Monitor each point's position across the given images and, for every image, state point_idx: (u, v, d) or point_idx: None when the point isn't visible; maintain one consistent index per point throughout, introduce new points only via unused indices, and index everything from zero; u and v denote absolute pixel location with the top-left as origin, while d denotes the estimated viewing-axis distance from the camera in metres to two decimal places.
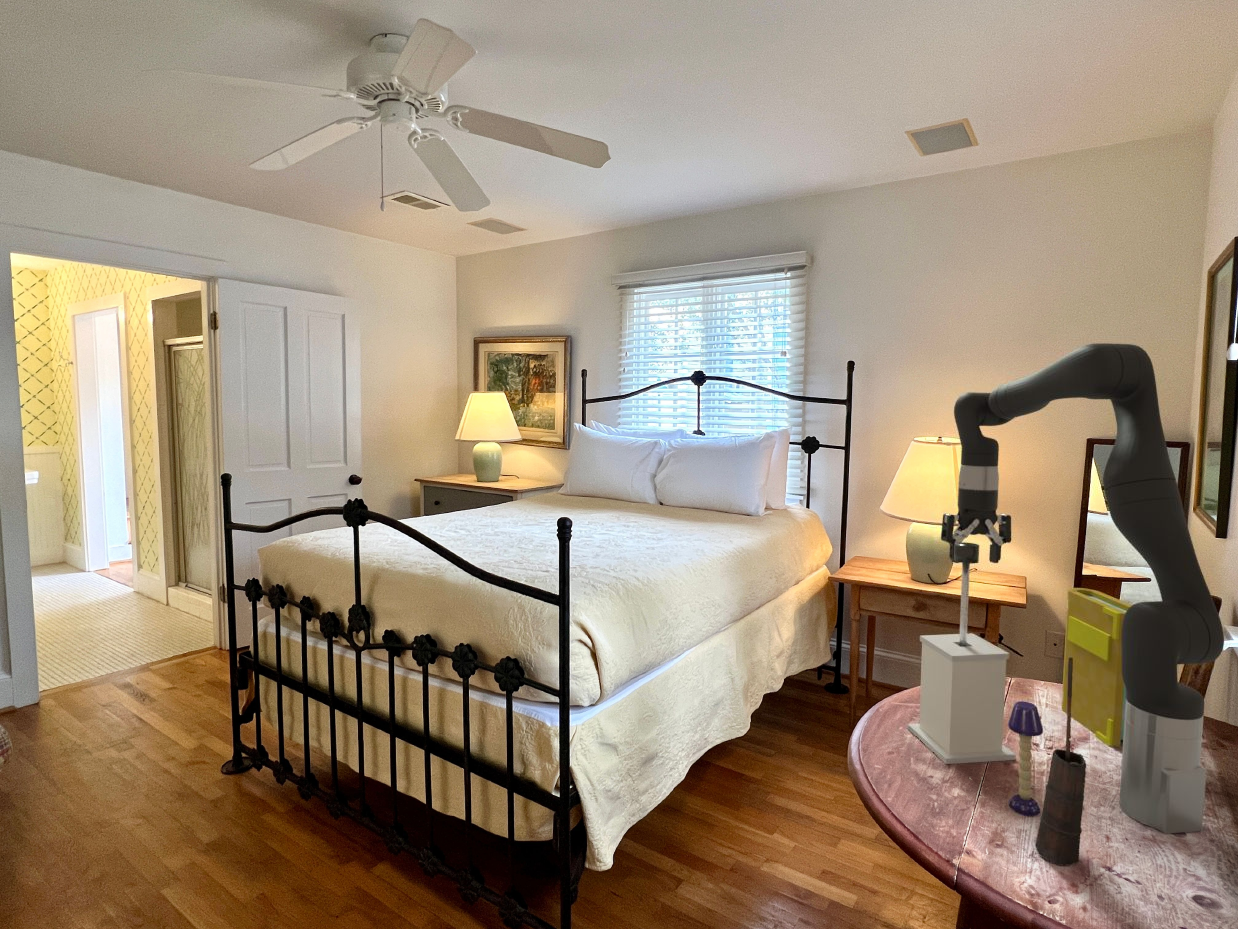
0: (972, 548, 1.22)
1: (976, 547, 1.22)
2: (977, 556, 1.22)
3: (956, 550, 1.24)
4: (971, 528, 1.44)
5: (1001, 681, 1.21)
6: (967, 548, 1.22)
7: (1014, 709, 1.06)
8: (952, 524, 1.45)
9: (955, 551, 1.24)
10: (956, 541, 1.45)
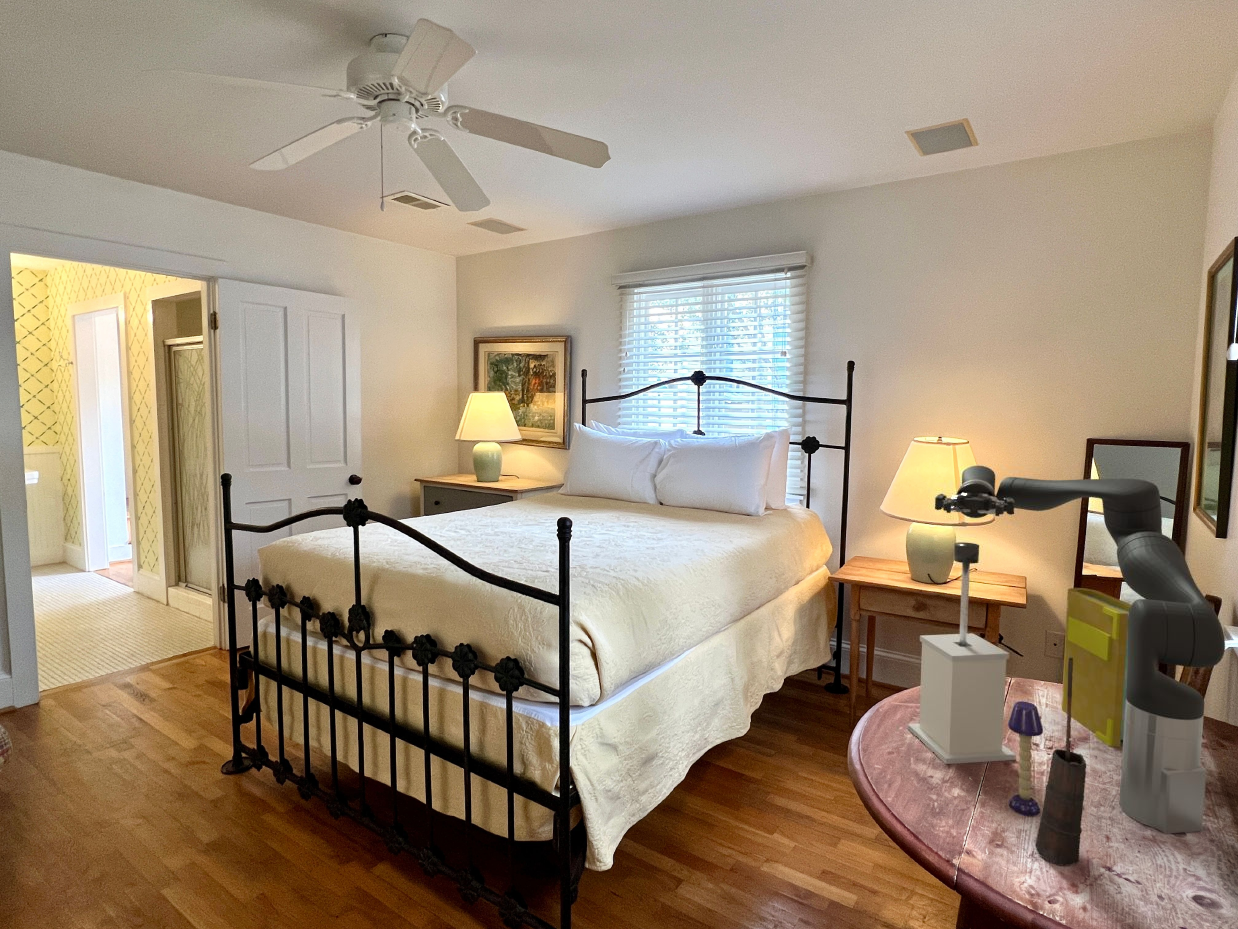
0: (972, 548, 1.22)
1: (976, 547, 1.22)
2: (977, 556, 1.22)
3: (956, 550, 1.24)
4: (962, 495, 1.42)
5: (1001, 681, 1.21)
6: (967, 548, 1.22)
7: (1014, 709, 1.06)
8: (942, 495, 1.44)
9: (955, 551, 1.24)
10: None
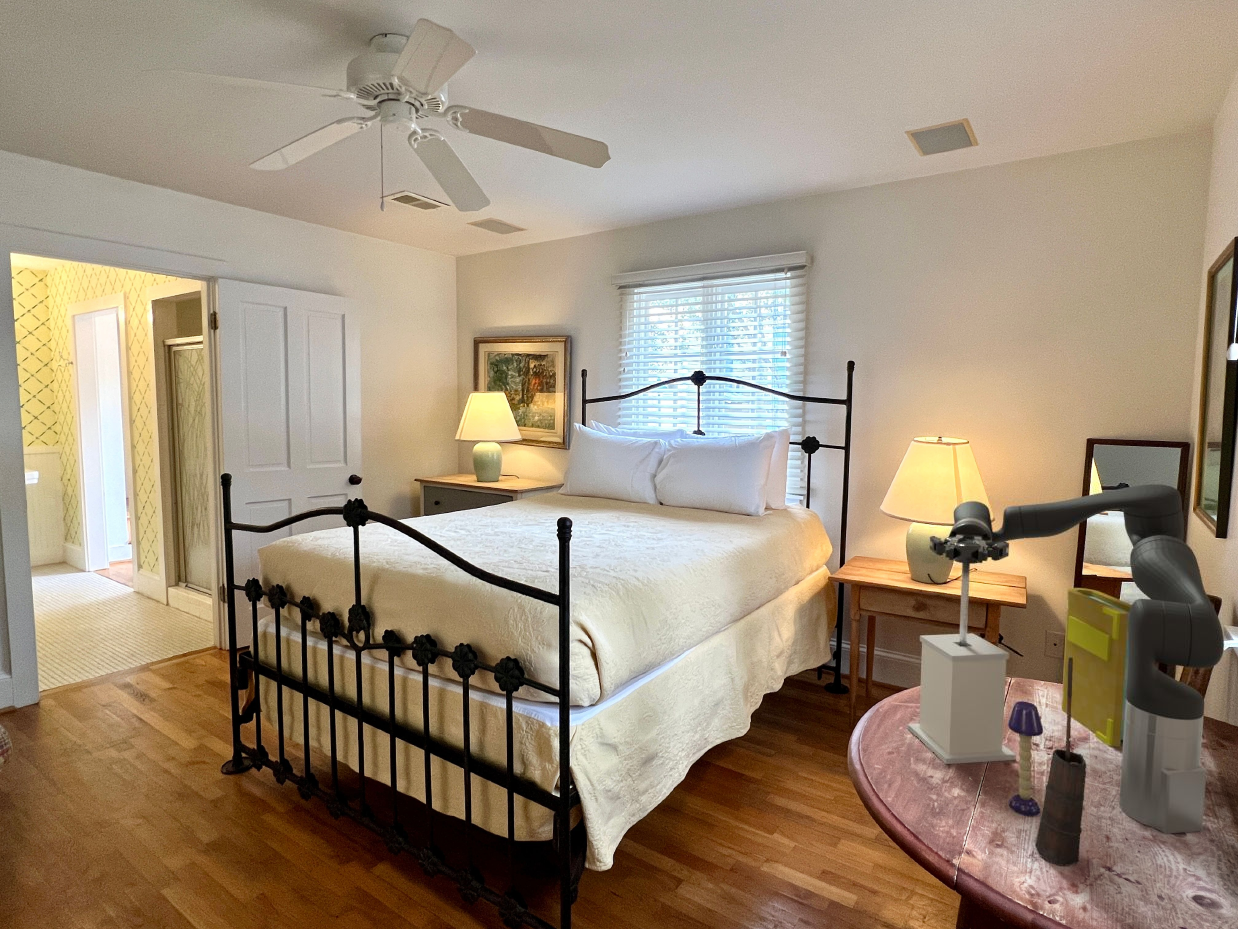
0: (972, 548, 1.22)
1: (976, 547, 1.22)
2: (977, 556, 1.22)
3: (956, 550, 1.24)
4: (959, 537, 1.29)
5: (1001, 681, 1.21)
6: (967, 548, 1.22)
7: (1014, 709, 1.06)
8: (936, 538, 1.31)
9: (955, 551, 1.24)
10: (948, 543, 1.27)
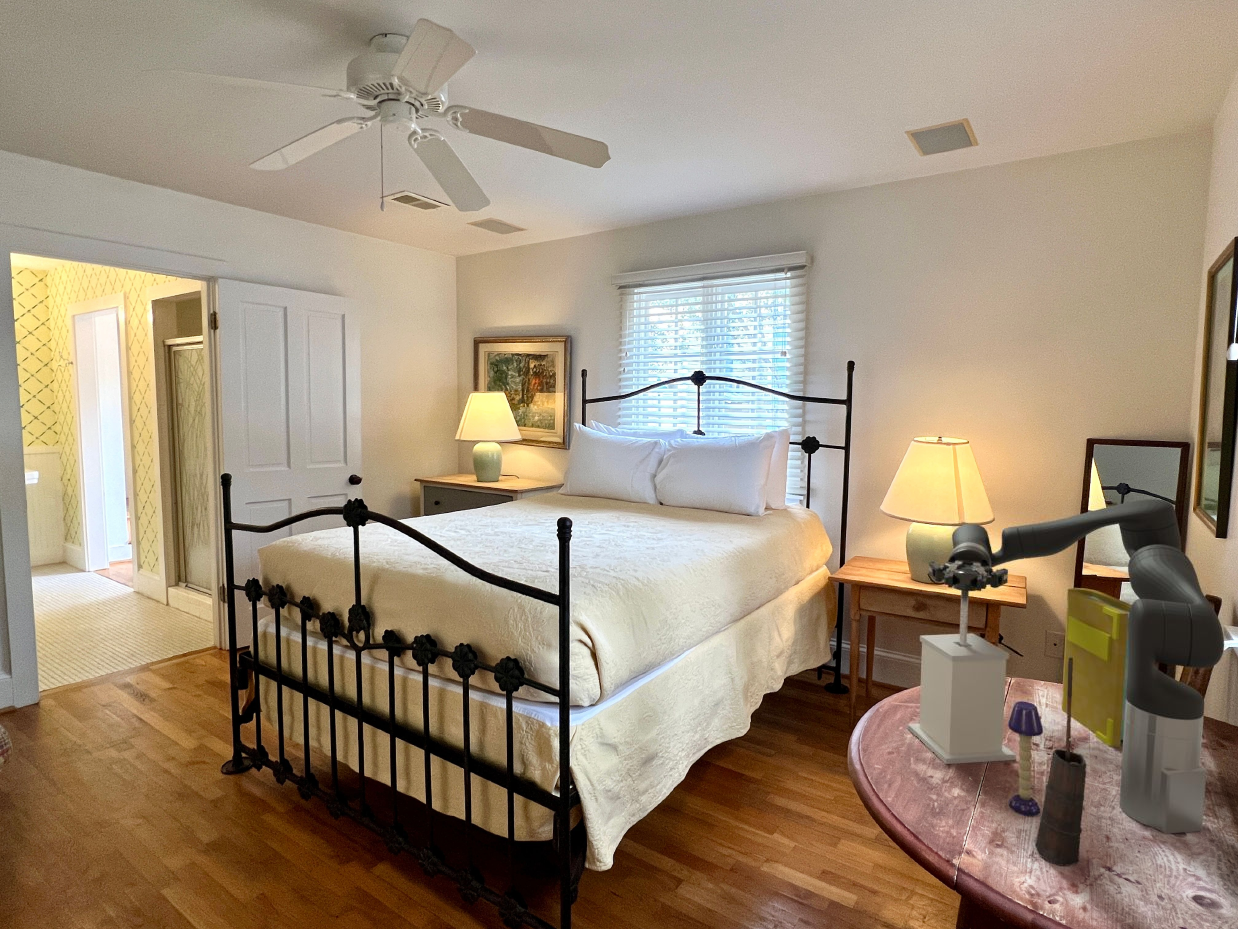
0: (971, 576, 1.22)
1: (975, 575, 1.23)
2: (976, 584, 1.23)
3: (955, 577, 1.24)
4: (958, 563, 1.30)
5: (1001, 681, 1.21)
6: (966, 576, 1.23)
7: (1014, 709, 1.06)
8: (936, 564, 1.32)
9: (954, 578, 1.24)
10: (947, 569, 1.27)
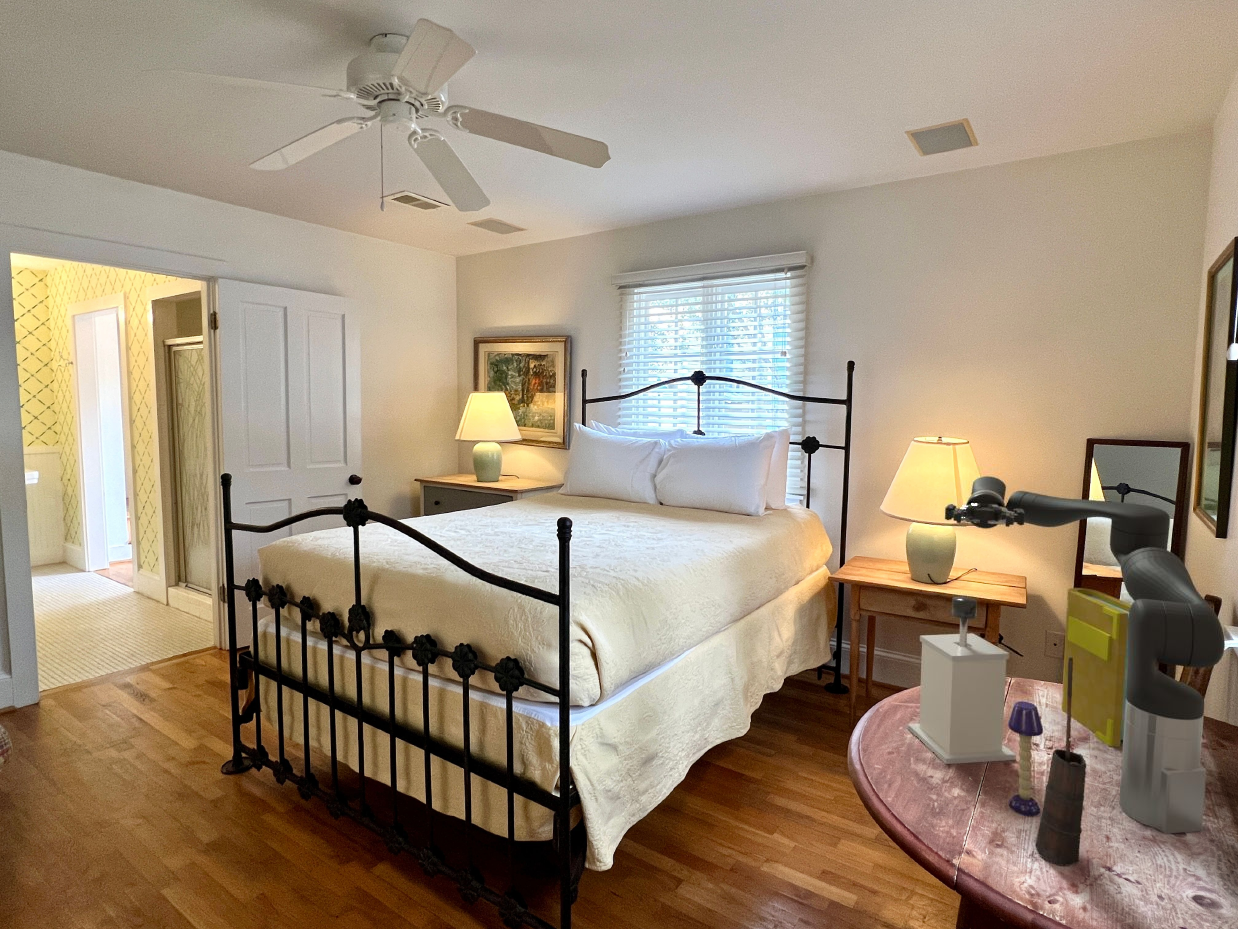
0: (970, 604, 1.23)
1: (974, 602, 1.23)
2: (975, 611, 1.23)
3: (954, 605, 1.25)
4: (972, 505, 1.42)
5: (1001, 681, 1.21)
6: (965, 604, 1.23)
7: (1014, 709, 1.06)
8: (952, 505, 1.45)
9: (953, 606, 1.25)
10: None
